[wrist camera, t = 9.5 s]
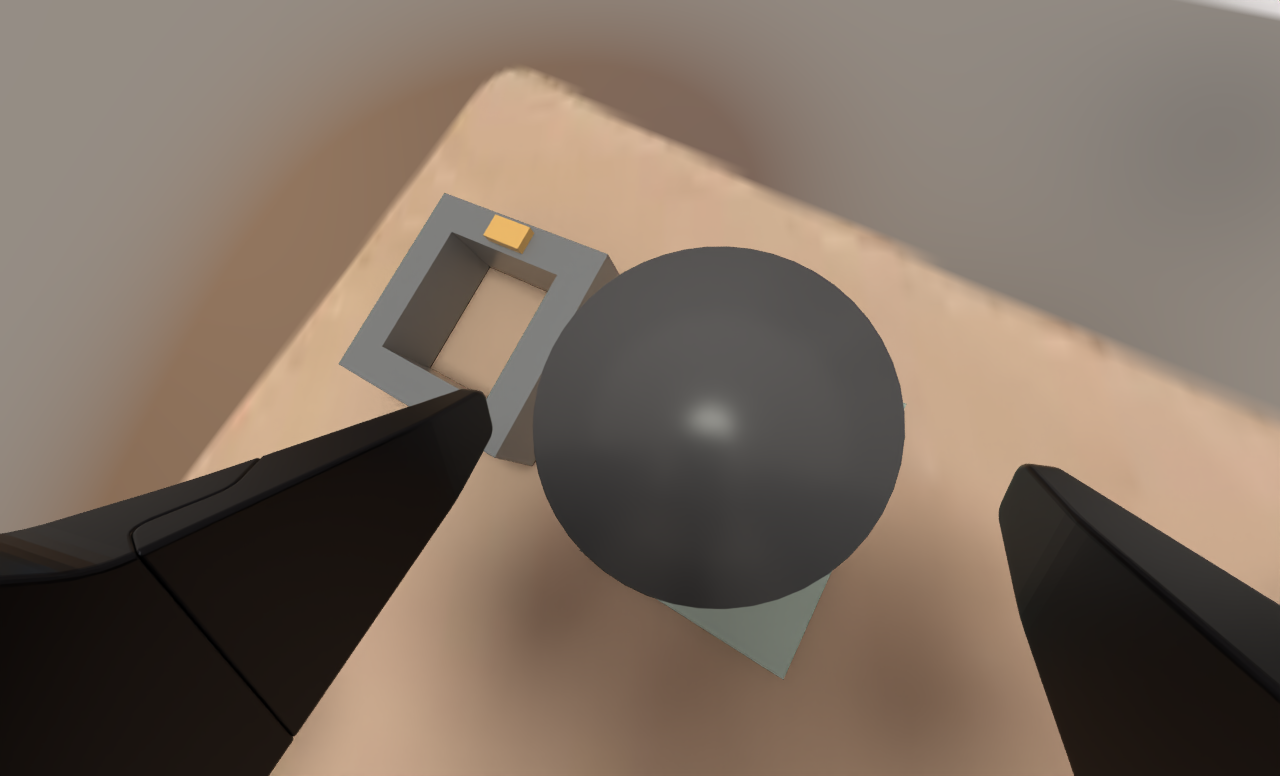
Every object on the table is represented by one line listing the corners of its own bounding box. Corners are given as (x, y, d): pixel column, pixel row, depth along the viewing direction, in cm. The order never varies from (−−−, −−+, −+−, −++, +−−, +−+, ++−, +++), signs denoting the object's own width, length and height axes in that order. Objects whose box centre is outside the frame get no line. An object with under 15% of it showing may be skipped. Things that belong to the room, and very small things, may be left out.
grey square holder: (532, 465, 20) (488, 456, 16) (391, 382, 22) (330, 361, 19) (628, 290, 21) (604, 248, 18) (481, 231, 23) (438, 186, 20)
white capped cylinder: (733, 573, 16) (696, 703, 5) (649, 477, 18) (471, 408, 6) (826, 485, 16) (1000, 412, 5) (734, 397, 18) (707, 187, 6)
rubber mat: (782, 673, 16) (783, 680, 15) (585, 549, 18) (579, 550, 18) (901, 407, 17) (906, 403, 16) (700, 326, 19) (699, 320, 19)
